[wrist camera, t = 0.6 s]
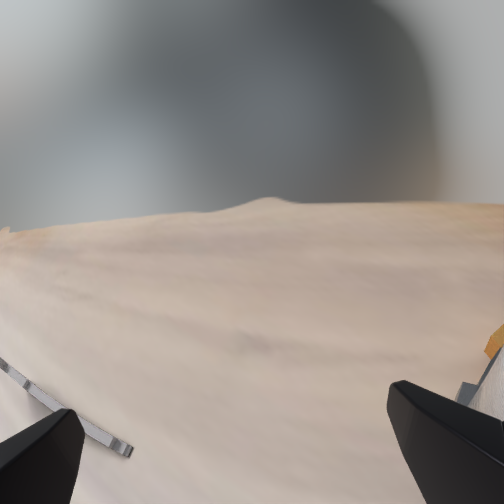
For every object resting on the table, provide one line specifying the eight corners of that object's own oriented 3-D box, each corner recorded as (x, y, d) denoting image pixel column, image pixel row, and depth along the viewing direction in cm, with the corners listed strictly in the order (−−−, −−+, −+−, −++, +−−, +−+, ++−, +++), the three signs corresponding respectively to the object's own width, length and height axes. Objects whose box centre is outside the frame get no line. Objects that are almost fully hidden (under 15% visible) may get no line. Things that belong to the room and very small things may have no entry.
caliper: (26, 387, 28) (-12, 358, 24) (30, 380, 29) (-7, 350, 25) (130, 458, 19) (68, 429, 15) (135, 447, 19) (75, 415, 15)
